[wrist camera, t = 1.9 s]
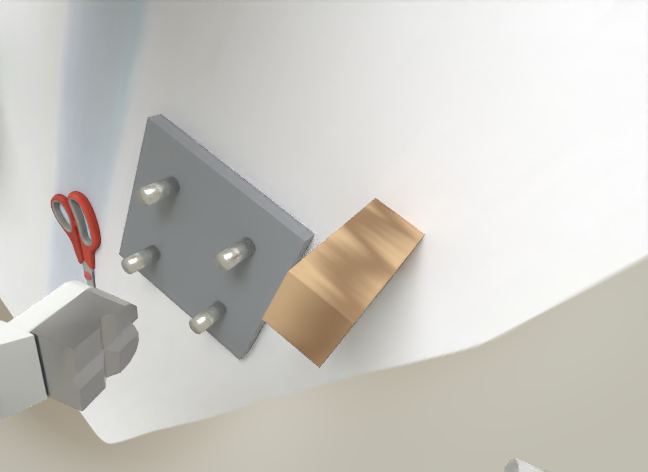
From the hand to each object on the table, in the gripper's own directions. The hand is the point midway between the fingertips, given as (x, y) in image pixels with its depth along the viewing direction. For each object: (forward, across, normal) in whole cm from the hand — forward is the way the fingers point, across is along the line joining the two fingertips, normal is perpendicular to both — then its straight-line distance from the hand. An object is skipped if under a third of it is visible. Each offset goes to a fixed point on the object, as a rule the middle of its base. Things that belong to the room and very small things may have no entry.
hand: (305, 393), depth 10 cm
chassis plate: (+28, +18, +19) cm, 38 cm away
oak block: (+25, +1, +10) cm, 27 cm away
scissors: (+32, +35, +32) cm, 57 cm away
